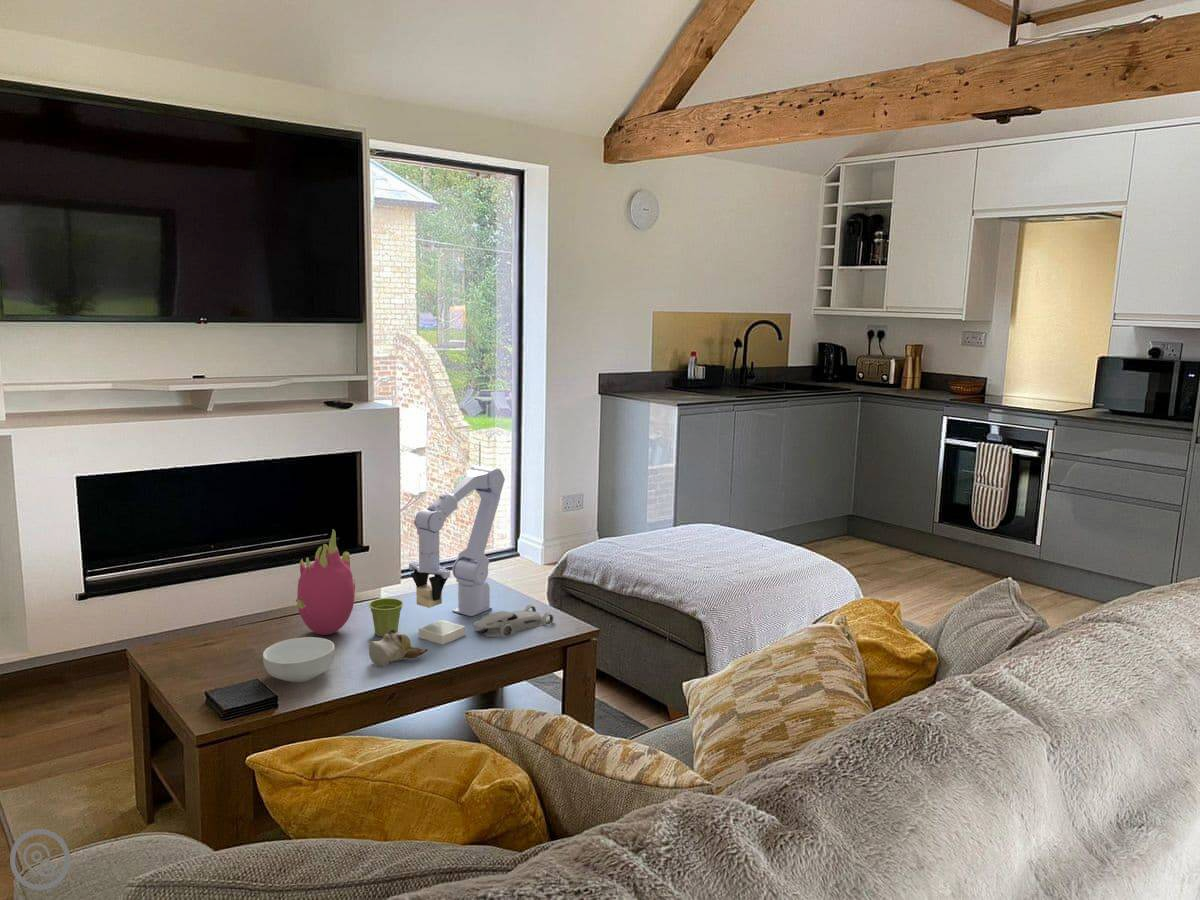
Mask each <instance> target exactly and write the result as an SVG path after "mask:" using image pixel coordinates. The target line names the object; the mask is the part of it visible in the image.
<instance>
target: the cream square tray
mask: <svg viewBox="0 0 1200 900" xmlns="http://www.w3.org/2000/svg"><path fill="white" fill-rule="evenodd" d="M465 635H466V626H465V625H461V624H457V623H454V622H451V621H446V620H444V619H443V620H442V619H441V620H437V621H435V622H433V623H431V624H430V623H429V624H428V625H425V626H422V627H420V628H418V638H420V639H421V640H422V639H423V640H426V641H430V642H433V643H436V644H439V645H445V644H447V643H451V642H452V641H454V640H457V639H460V638H463V636H465Z"/></svg>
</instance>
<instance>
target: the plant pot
mask: <svg viewBox="0 0 1200 900" xmlns="http://www.w3.org/2000/svg"><path fill="white" fill-rule="evenodd" d="M403 605H404V601H403V600H401V599H398V598H391V597H387V598H386V597H385V598H383V597H382V598H378V599H374V600H372V601H370V602H369V603H368V607H369V608H370V612H371V614H372V621H373V627H374V634H375V635H376V636H378V637H382V638H383V637H384V635H385V634H386V633H387V632H389V631H391V630H395V632H399V624H400V623H399V622H400V618H401V617H400V615H401V611H402V607H403Z"/></svg>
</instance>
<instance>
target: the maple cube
mask: <svg viewBox="0 0 1200 900" xmlns="http://www.w3.org/2000/svg"><path fill="white" fill-rule="evenodd" d="M415 588H416V590H415V591H416V605H417V606H422V607H425V608H429V609H431V608H433V607H435V606H439V605H441V604H442V603H443V598H442V596H443V595H442V593H443V592H442V593H441V597H440V599H439V600H437V601H433V596H432V587H431V583H430V582H429V583H428V582H427V584H425V585H422V586H419V587H417V586H415Z"/></svg>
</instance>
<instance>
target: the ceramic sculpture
mask: <svg viewBox="0 0 1200 900" xmlns="http://www.w3.org/2000/svg"><path fill="white" fill-rule="evenodd" d="M368 651H369V658H370V660H371V662H372V663H373V664H374V666H375V667H378V668H381V667H382V668H384V667H387V665H388V663H390V662H399V661H403V660H407V659H408V660H409V659H411V660H413V659H416V658H419V657H421V656H423V655H425V653H427V652H428V651H429V649H428V648H424V649H423V648H420V647H417V646H416V647H414V646H412V643H411V639H410V638H409V636H408V635H407V634H406V633H403V632H399V631H398V632H395V630H391V631H389V632H387V633H386V634H385V635H384V637H383V636H382V639H381V640H377V641H376V640H374V641H372V640H370V641H369V643H368Z"/></svg>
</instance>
